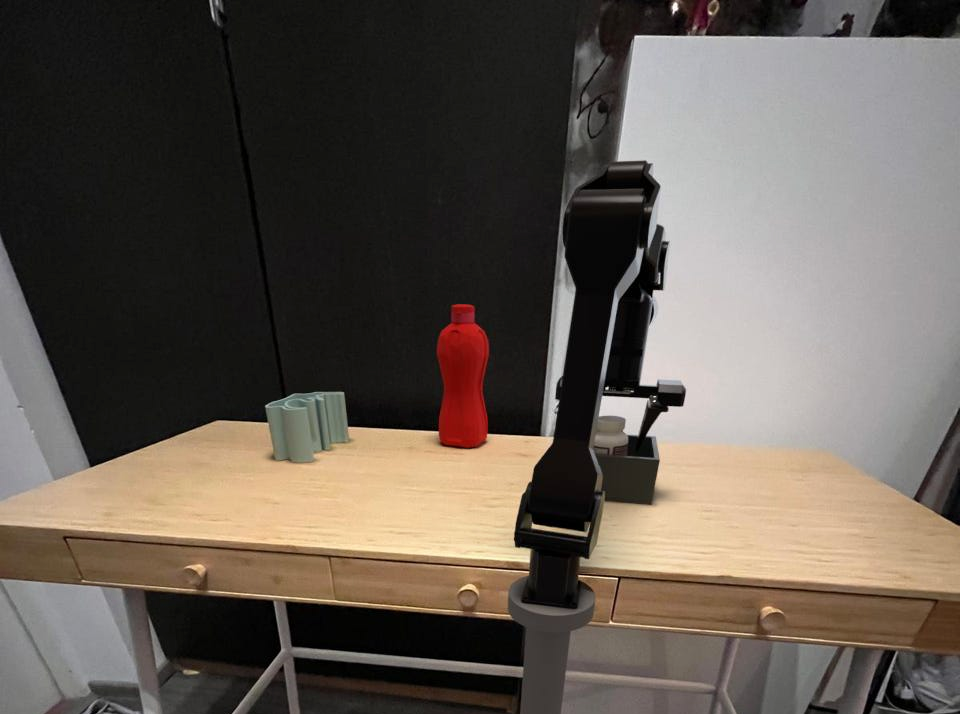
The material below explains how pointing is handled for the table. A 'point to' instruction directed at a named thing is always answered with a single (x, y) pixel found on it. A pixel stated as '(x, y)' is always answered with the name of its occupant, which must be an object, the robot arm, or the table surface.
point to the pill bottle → (611, 436)
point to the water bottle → (463, 379)
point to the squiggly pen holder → (306, 424)
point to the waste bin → (631, 472)
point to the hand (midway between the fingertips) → (611, 448)
